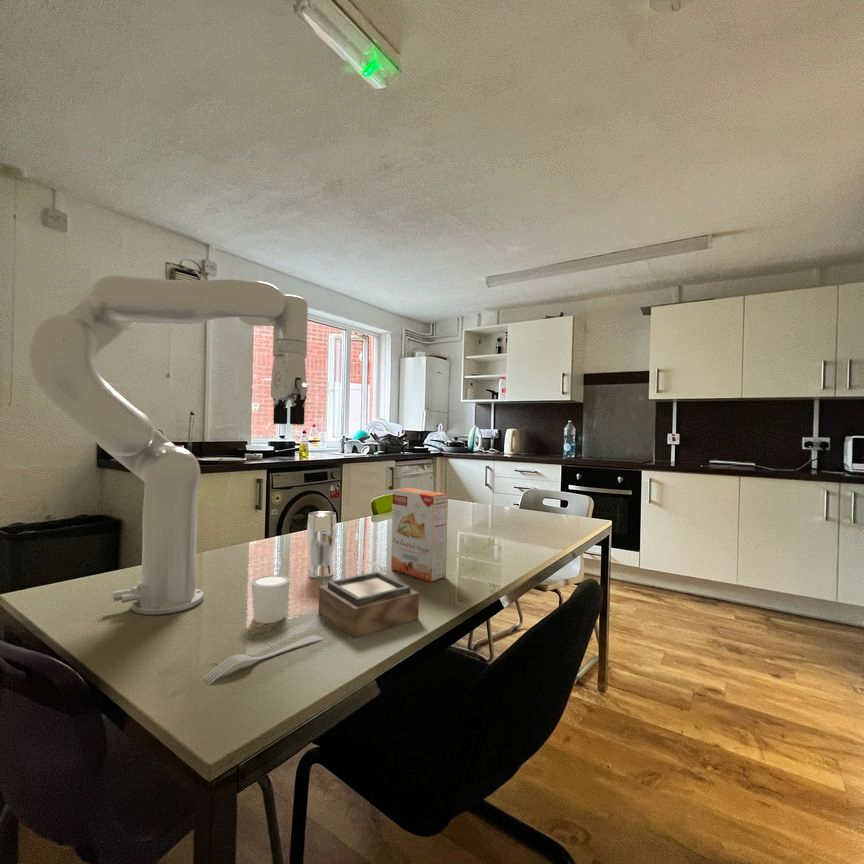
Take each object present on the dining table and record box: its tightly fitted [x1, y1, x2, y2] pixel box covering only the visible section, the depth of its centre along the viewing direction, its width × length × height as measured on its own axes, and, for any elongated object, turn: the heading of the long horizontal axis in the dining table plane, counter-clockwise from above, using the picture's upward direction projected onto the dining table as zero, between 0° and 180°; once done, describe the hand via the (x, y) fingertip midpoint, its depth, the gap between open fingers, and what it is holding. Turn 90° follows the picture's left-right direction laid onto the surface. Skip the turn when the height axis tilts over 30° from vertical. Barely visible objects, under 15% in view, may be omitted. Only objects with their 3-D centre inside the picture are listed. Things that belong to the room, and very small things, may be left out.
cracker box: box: [390, 487, 449, 583], centre depth 117 cm, size 14×6×21 cm, turn 48°
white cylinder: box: [251, 574, 290, 624], centre depth 89 cm, size 7×7×7 cm
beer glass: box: [306, 510, 337, 579], centre depth 115 cm, size 7×7×15 cm
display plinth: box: [318, 571, 420, 638], centre depth 91 cm, size 14×14×6 cm
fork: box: [200, 634, 324, 686], centre depth 73 cm, size 3×21×3 cm, turn 140°
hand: (288, 424), depth 108 cm, fingers open, 9 cm apart
